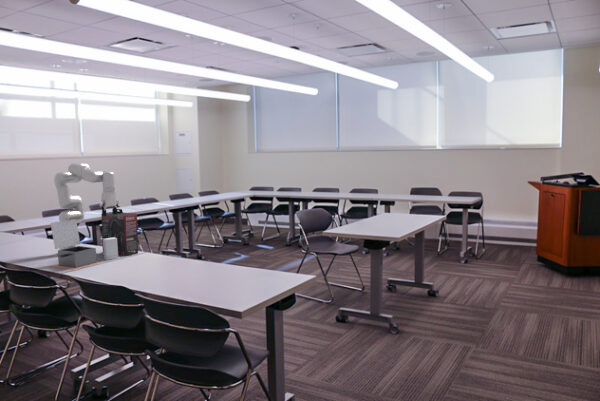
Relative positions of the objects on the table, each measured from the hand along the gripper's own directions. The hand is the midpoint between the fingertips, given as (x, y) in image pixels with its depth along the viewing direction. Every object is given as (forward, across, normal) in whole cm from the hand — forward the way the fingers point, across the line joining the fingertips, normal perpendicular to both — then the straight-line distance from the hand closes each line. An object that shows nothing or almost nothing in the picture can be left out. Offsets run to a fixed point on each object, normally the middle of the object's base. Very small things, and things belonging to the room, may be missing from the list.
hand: (109, 214), depth 326 cm
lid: (+11, +19, -19) cm, 29 cm away
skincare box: (+31, -1, -1) cm, 31 cm away
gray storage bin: (+31, +20, -9) cm, 38 cm away
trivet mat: (+31, +20, -9) cm, 38 cm away
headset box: (+32, -20, -9) cm, 38 cm away
